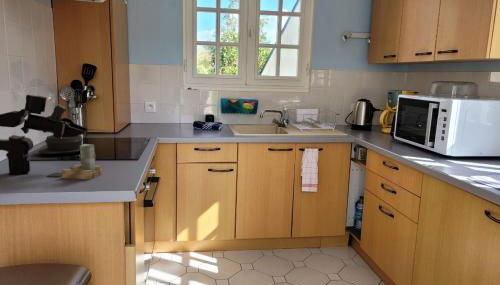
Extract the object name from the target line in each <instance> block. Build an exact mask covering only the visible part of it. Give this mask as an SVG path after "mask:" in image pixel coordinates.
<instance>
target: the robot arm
mask: <svg viewBox="0 0 500 285" xmlns="http://www.w3.org/2000/svg"><path fill="white" fill-rule="evenodd" d="M47 99H48V97H47V96H43V95H34V94H33V95H31V94H26V95H25V103H24V105H25V106H24V108H22V109H20V110H13V111H9V112H4V113H1V114H0V127H1V128H2V127H3V128H16V127H18V126H20V125H23V126H22V127H20V130H22V132H23V133H24V134H28V133H29V131H30V130H33V131H39V132H42V133H45V134H46V133H51V134H52V135H53V136H54V137H55V138H59V139H61V138H66V137H71V136H76V135H80V136H81V135H85V132H87V131H88V128H87V127H85V126H82V125H80V124H78V123H75V121H74V120H73V119H72V118H71V117H67V116H65V117H64V118H63V115H64V113H65V112H66V111H67V109H68V108H67V107H66V106H64V105H63V104H57V105H56V106H55V107H54V108H53V111H52V113H51V115H48V116H44V115H41V114H42V113H45V112H46V105H47V101H48V100H47ZM26 117H27V118H26ZM61 134H63V136H61ZM32 149H34V141H33V140H32V139H31V138H29V137H26V136H25V135H16V134H14V135H13V134H12V135H10V136H9V137H8V138H7V139H2V138H1V139H0V151H5V152H6V153H5V156H6V158H7V160H8V174H7V175H8V176H11V175H12V176H14V175H26V174H27V175H28V174H30V173H29V172H31V159H29V156H28V154H29V153H30V151H32Z"/></svg>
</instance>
